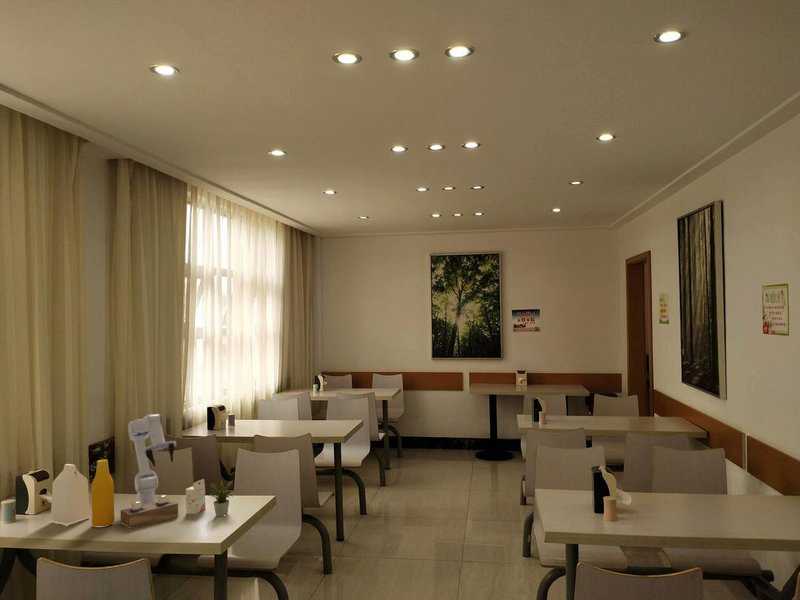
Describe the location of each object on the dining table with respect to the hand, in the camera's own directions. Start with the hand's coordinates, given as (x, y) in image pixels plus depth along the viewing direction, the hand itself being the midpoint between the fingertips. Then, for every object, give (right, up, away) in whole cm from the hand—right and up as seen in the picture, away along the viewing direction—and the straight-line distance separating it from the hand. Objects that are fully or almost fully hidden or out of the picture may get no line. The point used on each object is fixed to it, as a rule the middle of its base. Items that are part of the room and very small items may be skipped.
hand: (163, 463), depth 274 cm
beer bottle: (-27, -28, -1) cm, 39 cm away
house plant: (+23, -27, +7) cm, 36 cm away
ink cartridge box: (+10, -27, +15) cm, 33 cm away
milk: (-46, -29, +7) cm, 55 cm away
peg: (-4, -24, +8) cm, 26 cm away
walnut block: (-8, -27, +4) cm, 29 cm away
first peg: (-12, -24, 0) cm, 27 cm away
